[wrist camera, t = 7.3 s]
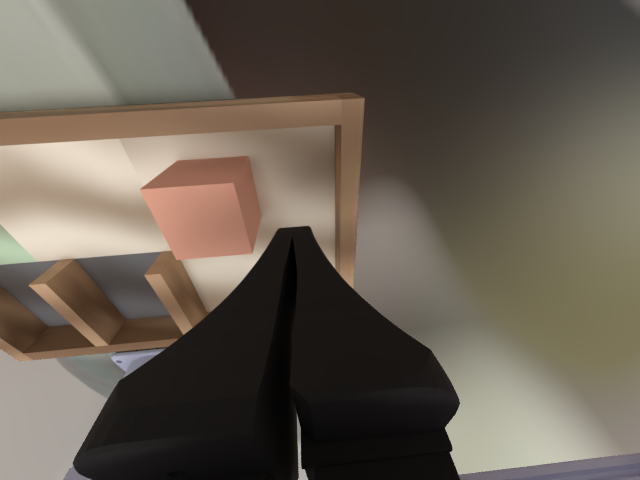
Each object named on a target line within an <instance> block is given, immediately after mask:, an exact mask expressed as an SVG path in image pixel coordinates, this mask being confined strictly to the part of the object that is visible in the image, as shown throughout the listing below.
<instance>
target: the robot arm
mask: <svg viewBox="0 0 640 480" xmlns="http://www.w3.org/2000/svg"><path fill="white" fill-rule="evenodd" d="M111 359H112V360H113V361H114V362H115V363H116V364H117V365H118V366H119V367H120V368H121V369H123V370H124V371H125V372H126V373H125V374H124V376H123V378H122V379H121V380H120V381H119V382H118V384H117V385H116V387H115V388H114V390H113V392H112V393H111V395H110V397H109V398H108V400H107V402H106V403H105V405H104V407H103V409H102V410H101V412H100V414H99V416H98V417H97V419H96V421H95V423H94V425H93V426H92V428H91V430H90V432H89V433H88V435H87V437H86V439H85V441H84V442H83V444H82V446H81V448H80V450H79V452H78V453H77V455H76V457H75V459H74V461H73V467H72V468H70V469H69V471H68V473H67V474H66V476H65V478H64V480H298V478H299V476H298V475H299V474H298V445H297V415H298V419H299V423H300V426H301V465H302V469H305V471H306V474H307V477H308V480H640V453H633V454H625V455H617V456H609V457H600V458H592V459H584V460H577V461H568V462H560V463H552V464H543V465H536V466H527V467H519V468H511V469H502V470H494V471H487V472H478V473H470V474H462V475H458V473H457V470H456V468H455V465H454V463H453V460H452V458H451V455H450V452H451V451H452V445H451V442H450V440H449V437H448V435H447V432H446V430H445V427H446V425H447V424H448V423H449V421H450V420H451V419H452V418H453V416H454V415H455V414H456V411H457V409H458V407H459V404H460V402H459V398H458V396H457V394H456V392H455V390H454V387H453V385H452V383H451V381H450V380H449V378H448V377H447V374H446V373H445V371H444V370H443V368H442V366H441V365H440V363H439V362H438V360H437V359H436V357H435V356H434V354H433V353H432V351H431V350H430V349H429V348H427V347H426V346H424V345H423V344H421V343H420V342H418V341H417V340H415V339H414V338H412V337H411V336H409V335H408V334H406V333H405V332H404V331H402V330H401V329H400V328H398V327H397V326H395V325H394V324H393V323H392V322H390V321H389V320H388V319H386V318H385V317H384V316H383V315H381V314H380V313H379V312H378V311H377V310H376V309H374V308H373V307H372V306H371V305H370V304H369V303H368V302H366V301H365V300H364V299H363V298H362V297H361V296H360V295H359V294H358V293H357V292H356V291H355V290H354V289H353V288H352V287H351V286H350V285H349V284H348V283H347V282H346V281H345V280H344V279H343V278H342V276H341V275H340V274H339V273H338V272H337V271H336V269H335V268H334V267H333V265H332V264H331V263H330V261H329V260H328V259H327V257H326V256H325V254H324V253H323V251H322V249H321V248H320V246H319V244H318V243H317V241H316V239H315V237H314V235H313V232H312V229H311V227H310V226H299V227H286V228H279V229H278V230H277V231H276V233H275V234H274V236H273V238H272V240H271V241H270V243H269V245H268V246H267V248H266V249H265V251H264V252H263V254H262V255H261V257H260V258H259V260H258V261H257V262H256V264H255V265H254V266H253V267H252V269H251V270H250V271H249V273H248V274H247V275H246V276H245V278H244V279H243V280H242V281H241V282H240V283H239V285H238V286H237V287H236V288H235V289H234V290H233V291H232V292H231V293H230V294H229V295H228V296H227V297H226V298H225V299H224V300H223V301H222V302H221V303H220V304H219V305H218V306H217V307H216V308H215V309H214V310H213V311H211V312H210V313H209V314H208V315H207V316H206V317H205V318H204V319H203V320H201V321H200V322H199V323H198V324H197V325H195V326H194V327H193V328H192V329H191V330H189V331H188V332H187V333H185V334H184V335H183V336H182V337H180V338H179V339H178V340H176V341H175V342H174V343H173V344H171V345H170V346H169V347H167V348H164V349H154V350H143V351H133V352H123V353H115V354H113V355H112V357H111ZM296 411H297V412H296Z"/></svg>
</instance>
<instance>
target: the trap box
mask: <svg viewBox="0 0 640 480" xmlns="http://www.w3.org/2000/svg"><path fill="white" fill-rule="evenodd" d="M364 99H365V98H363V97H361V96H358V95H356V94H353V93H337V94H319V95H302V96H286V97H267V98H249V99H230V100H212V101H195V102H177V103H159V104H141V105H124V106H106V107H88V108H70V109H53V110H35V111H17V112H0V349H2V350H3V351H5V352H6V353H8V354H9V355H11V356H12V357H14V358H15V359H17V360H19V361H28V360H39V359H48V358H59V357H69V356H79V355H90V354H100V353H110V352H120V351H130V350H141V349H151V348H161V347H169V346H170V345H171V344H173V343H174V342H175V341H176V340H178V339H179V338H180V337H182V336H183V335H184V334H185V333H187V332H188V331H189V330H191V329H192V328H193V327H194V326H195V325H197V324H198V323H199V322H200V321H201V320H203V319H204V318H205V317H206V316H207V315H208V314H209V313H210V312H211V311H213V310H214V309H215V308H216V307H217V306H218V305H219V304H220V303H221V302H222V301H223V300H224V299H225V298H226V297H227V296H228V295H229V294H230V293H231V292H232V291H233V290H234V289H235V288H236V287H237V286H238V285H239V283H240V282H241V281H242V280H243V279H244V278H245V276H246V275H247V274H248V273H249V271H250V270H251V269H252V267H253V266H254V265H255V264H256V262H257V261H258V260H259V258H260V257H261V255H262V254H263V252H264V251H265V249H266V248H267V246H268V245H269V243H270V241H271V240H272V238H273V236H274V234H275V233H276V231H277V230H278V229H279V228H286V227H299V226H310V227H311V229H312V232H313V235H314V237H315V239H316V241H317V243H318V244H319V246H320V248H321V249H322V251H323V253H324V254H325V256H326V257H327V259H328V260H329V261H330V263H331V264H332V265H333V267H334V268H335V269H336V271H337V272H338V273H339V274H340V275H341V276H342V278H343V279H344V280H345V281H346V282H347V283H348V284H349V285H350V286H351V287H352V288H353V285H354V268H355V252H356V251H355V250H356V235H357V218H358V199H359V183H360V167H361V150H362V134H363V133H362V132H363V117H364ZM239 156H249V161H250V165H251V170H252V175H253V179H254V184H255V189H256V193H257V198H258V203H259V207H260V212H261V220H260V225H259V229H258V233H257V237H256V241H255V246H254V250H253V254H244V255H232V256H220V257H208V258H196V259H184V260H176V258H175V256H174V255H173V253H172V251H171V249H170V247H169V245H168V243H167V241H166V239H165V237H164V235H163V233H162V232H161V230H160V228H159V226H158V224H157V222H156V220H155V218H154V216H153V214H152V212H151V211H150V209H149V207H148V205H147V203H146V201H145V199H144V197H143V195H142V193H141V191H140V189H141V188H142V187H143V186H145V185H146V184H147V183H149V182H150V181H151V180H153V179H154V178H155V177H156V176H158V175H159V174H160V173H162V172H163V171H164V170H166V169H167V168H168V167H169V166H171V165H172V164H173V163H175V162H176V161H178V160H193V159H208V158H223V157H239Z"/></svg>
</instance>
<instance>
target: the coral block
mask: <svg viewBox="0 0 640 480" xmlns="http://www.w3.org/2000/svg"><path fill="white" fill-rule="evenodd" d="M140 191H141V193H142V195H143V197H144V199H145V201H146V203H147V205H148V207H149V209H150V211H151V212H152V214H153V216H154V218H155V220H156V222H157V224H158V226H159V228H160V230H161V232H162V233H163V235H164V237H165V239H166V241H167V243H168V245H169V247H170V249H171V251H172V253H173V255H174V256H175V258H176V260H184V259H196V258H208V257H220V256H232V255H244V254H253V250H254V246H255V241H256V237H257V233H258V229H259V225H260V220H261V212H260V207H259V203H258V198H257V193H256V189H255V184H254V179H253V175H252V170H251V165H250V161H249V156H239V157H223V158H208V159H193V160H178V161H176V162H175V163H173V164H172V165H171V166H169V167H168V168H167V169H166V170H164V171H163V172H162V173H160V174H159V175H158V176H156V177H155V178H154V179H153V180H151V181H150V182H149V183H147V184H146V185H145V186H143V187H142V188H141V189H140Z"/></svg>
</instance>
